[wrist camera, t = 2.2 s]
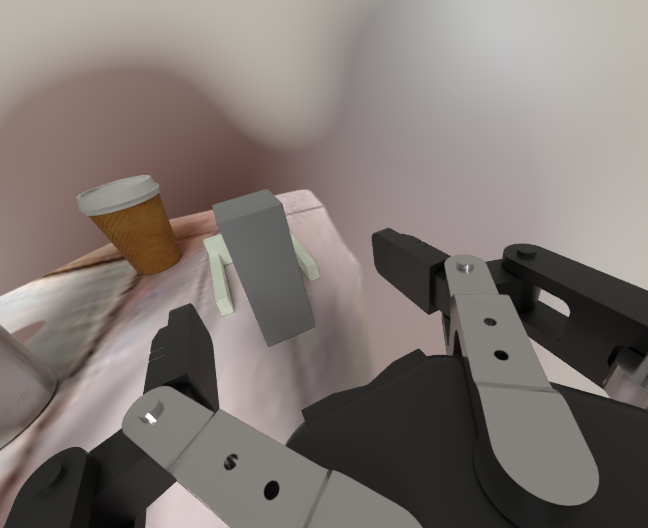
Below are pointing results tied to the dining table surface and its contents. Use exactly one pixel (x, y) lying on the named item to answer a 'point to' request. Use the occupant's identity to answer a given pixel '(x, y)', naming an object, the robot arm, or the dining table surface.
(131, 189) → the disposable coffee cup
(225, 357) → the dining table surface
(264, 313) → the tall gray pillar block
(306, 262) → the mount
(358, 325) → the dining table surface
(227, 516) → the robot arm
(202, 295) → the dining table surface
